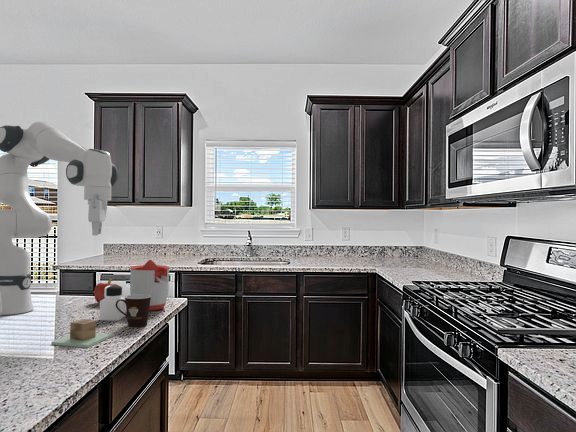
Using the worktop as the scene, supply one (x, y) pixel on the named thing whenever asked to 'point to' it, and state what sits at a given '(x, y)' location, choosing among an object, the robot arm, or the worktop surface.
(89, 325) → the walnut cube
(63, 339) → the plate
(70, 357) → the worktop surface
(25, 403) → the worktop surface
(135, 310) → the coffee mug
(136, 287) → the citrus juicer
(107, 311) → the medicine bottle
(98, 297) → the vegetable
